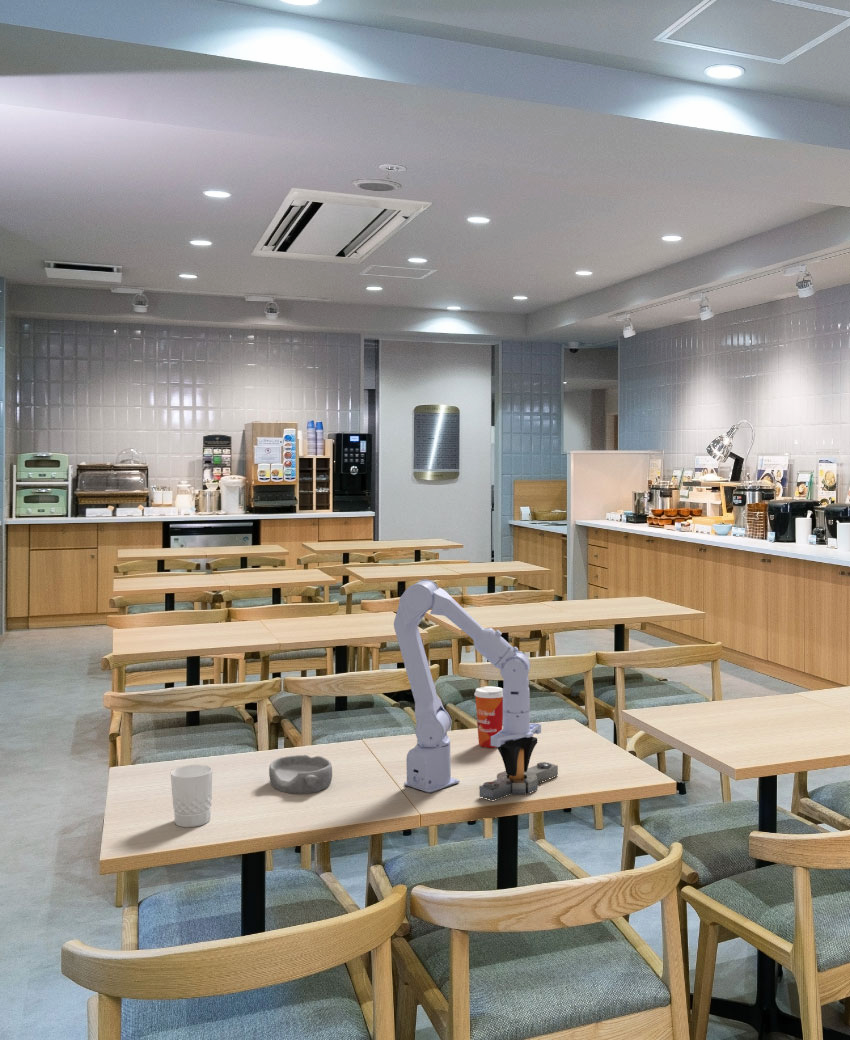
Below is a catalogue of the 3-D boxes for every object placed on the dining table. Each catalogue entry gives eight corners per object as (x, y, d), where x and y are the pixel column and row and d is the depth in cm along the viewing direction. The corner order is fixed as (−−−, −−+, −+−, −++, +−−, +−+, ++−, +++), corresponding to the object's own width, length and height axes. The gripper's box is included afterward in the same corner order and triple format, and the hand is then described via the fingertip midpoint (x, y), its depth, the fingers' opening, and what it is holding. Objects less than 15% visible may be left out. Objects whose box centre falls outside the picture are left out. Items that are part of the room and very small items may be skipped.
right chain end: (519, 797, 189) (519, 783, 189) (489, 788, 195) (489, 775, 195) (566, 778, 200) (566, 765, 200) (536, 770, 206) (536, 758, 206)
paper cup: (468, 744, 227) (467, 689, 226) (489, 738, 232) (489, 684, 231) (491, 751, 221) (490, 694, 220) (512, 745, 226) (511, 689, 226)
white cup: (218, 813, 182) (216, 764, 181) (207, 828, 174) (205, 777, 173) (179, 813, 182) (177, 764, 182) (166, 828, 174) (165, 777, 174)
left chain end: (501, 804, 185) (501, 790, 185) (470, 794, 191) (470, 781, 190) (544, 787, 195) (544, 774, 195) (514, 778, 201) (514, 766, 200)
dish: (321, 798, 191) (321, 774, 190) (259, 794, 193) (258, 771, 193) (341, 776, 205) (341, 754, 205) (283, 772, 208) (282, 751, 207)
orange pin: (517, 785, 192) (516, 753, 192) (506, 782, 195) (505, 749, 195) (527, 782, 195) (526, 749, 194) (516, 778, 197) (515, 746, 197)
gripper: (508, 719, 186) (509, 785, 187) (552, 706, 196) (552, 768, 197) (482, 713, 191) (483, 777, 192) (526, 701, 201) (527, 762, 202)
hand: (516, 772), depth 195 cm, fingers closed on orange pin, 3 cm apart
